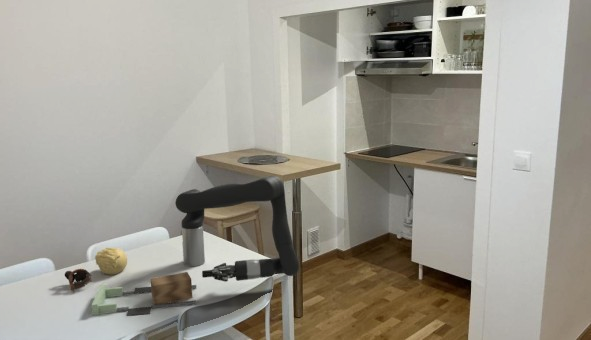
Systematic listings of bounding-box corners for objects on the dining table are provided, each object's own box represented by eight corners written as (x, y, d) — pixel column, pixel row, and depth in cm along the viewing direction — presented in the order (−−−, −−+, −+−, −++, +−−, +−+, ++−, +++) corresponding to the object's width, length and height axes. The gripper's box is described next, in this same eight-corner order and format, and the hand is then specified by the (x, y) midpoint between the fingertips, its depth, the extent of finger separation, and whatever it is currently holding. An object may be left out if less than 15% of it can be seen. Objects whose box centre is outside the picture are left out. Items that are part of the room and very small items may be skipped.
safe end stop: (92, 315, 172) (91, 305, 171) (101, 294, 187) (100, 285, 186) (116, 313, 173) (115, 302, 172) (123, 292, 188) (122, 283, 188)
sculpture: (92, 275, 205) (90, 251, 203) (112, 264, 216) (110, 241, 214) (113, 279, 201) (111, 254, 199) (133, 268, 212) (131, 244, 210)
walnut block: (154, 306, 178) (153, 285, 177) (151, 298, 184) (150, 278, 183) (192, 298, 184) (191, 278, 182) (188, 290, 190) (187, 271, 188)
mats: (126, 316, 171) (126, 315, 171) (135, 288, 192) (134, 287, 192) (150, 313, 172) (150, 312, 172) (155, 286, 193) (155, 286, 193)
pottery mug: (98, 281, 200) (95, 269, 194) (84, 300, 193) (81, 288, 187) (72, 273, 201) (68, 261, 196) (58, 291, 194) (53, 279, 189)
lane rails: (116, 311, 174) (116, 309, 174) (123, 293, 188) (122, 291, 187) (195, 304, 179) (195, 301, 179) (196, 287, 193) (196, 284, 192)
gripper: (245, 254, 193) (201, 258, 190) (248, 267, 180) (201, 272, 177) (246, 272, 194) (202, 276, 191) (249, 286, 182) (202, 290, 178)
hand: (202, 274), depth 184 cm, fingers closed
